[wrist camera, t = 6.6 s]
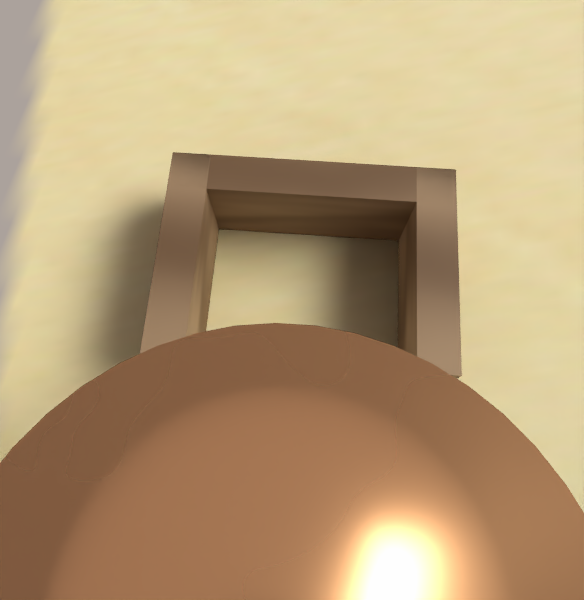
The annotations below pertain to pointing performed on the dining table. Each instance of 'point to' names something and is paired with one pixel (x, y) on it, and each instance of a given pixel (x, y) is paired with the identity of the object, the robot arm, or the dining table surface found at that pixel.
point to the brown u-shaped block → (312, 221)
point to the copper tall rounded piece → (283, 481)
